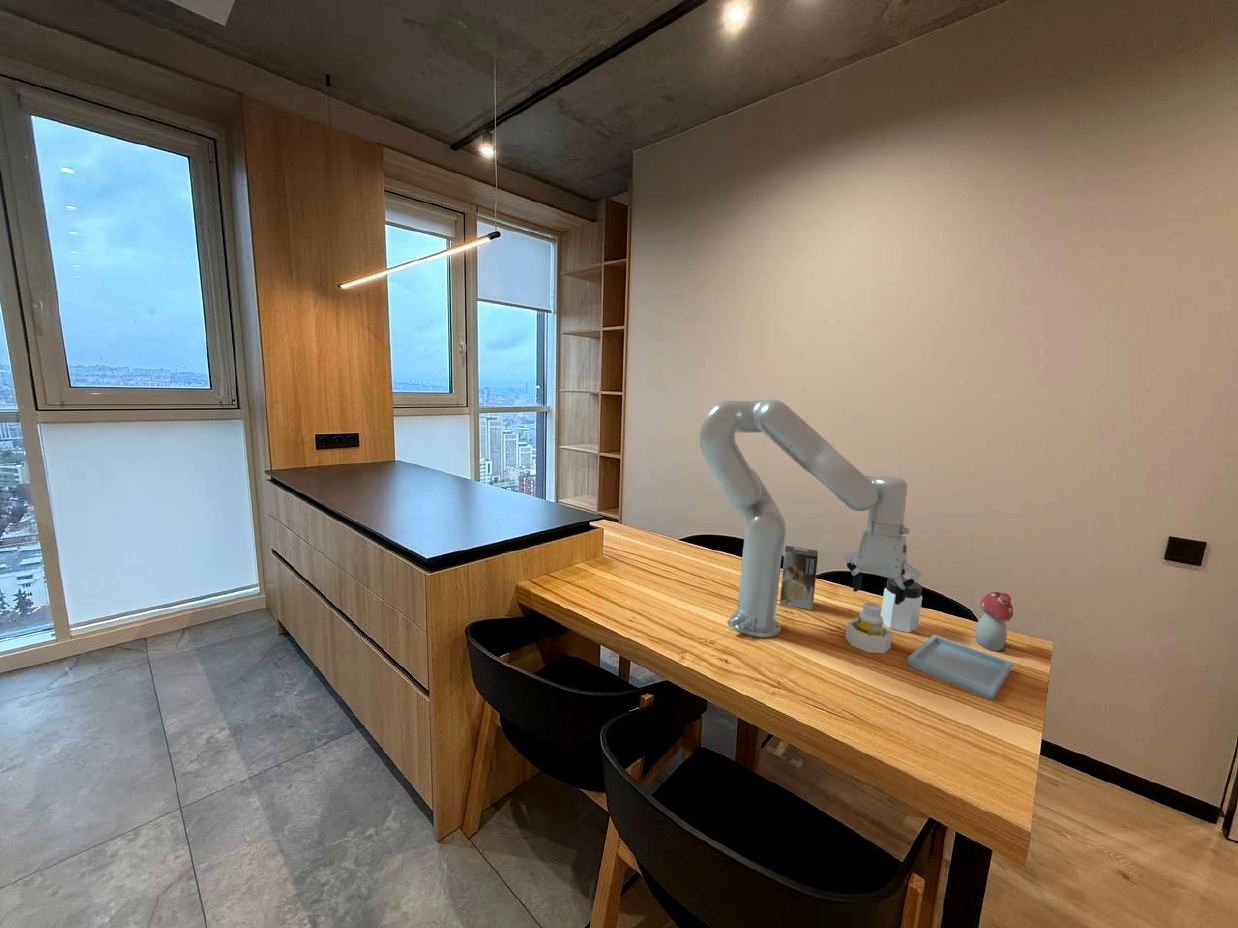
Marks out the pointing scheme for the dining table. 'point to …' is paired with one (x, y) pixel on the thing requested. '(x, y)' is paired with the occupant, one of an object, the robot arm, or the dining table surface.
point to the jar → (901, 607)
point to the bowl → (868, 638)
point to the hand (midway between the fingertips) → (877, 596)
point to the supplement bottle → (870, 619)
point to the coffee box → (799, 577)
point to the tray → (961, 665)
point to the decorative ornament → (994, 621)
